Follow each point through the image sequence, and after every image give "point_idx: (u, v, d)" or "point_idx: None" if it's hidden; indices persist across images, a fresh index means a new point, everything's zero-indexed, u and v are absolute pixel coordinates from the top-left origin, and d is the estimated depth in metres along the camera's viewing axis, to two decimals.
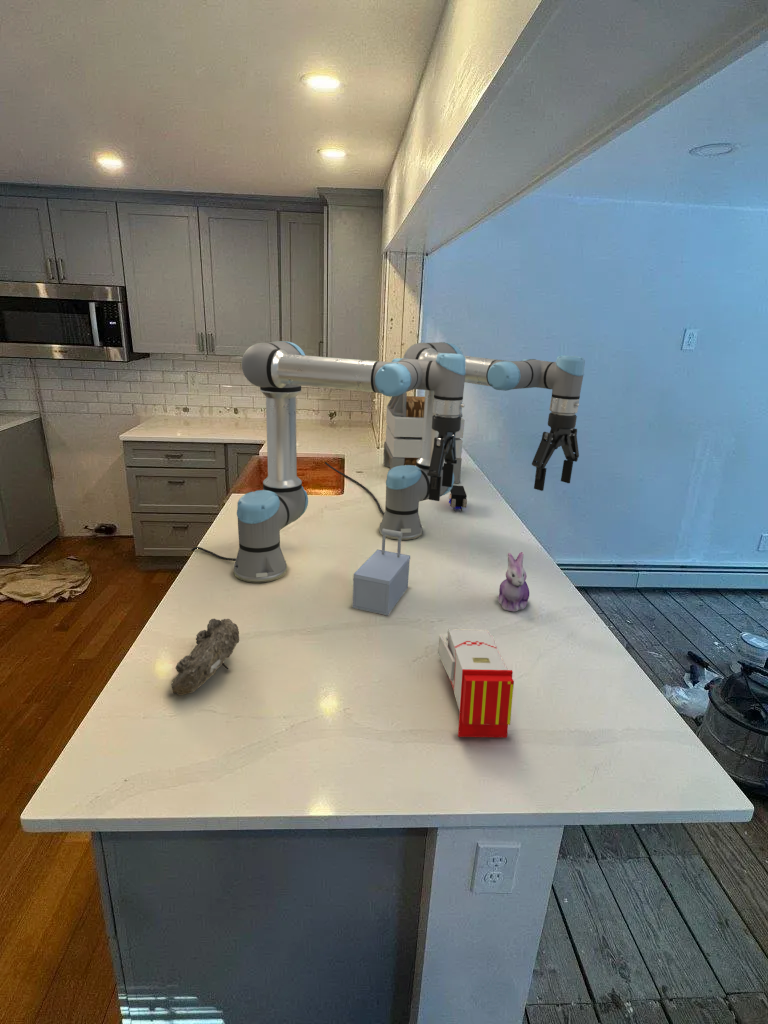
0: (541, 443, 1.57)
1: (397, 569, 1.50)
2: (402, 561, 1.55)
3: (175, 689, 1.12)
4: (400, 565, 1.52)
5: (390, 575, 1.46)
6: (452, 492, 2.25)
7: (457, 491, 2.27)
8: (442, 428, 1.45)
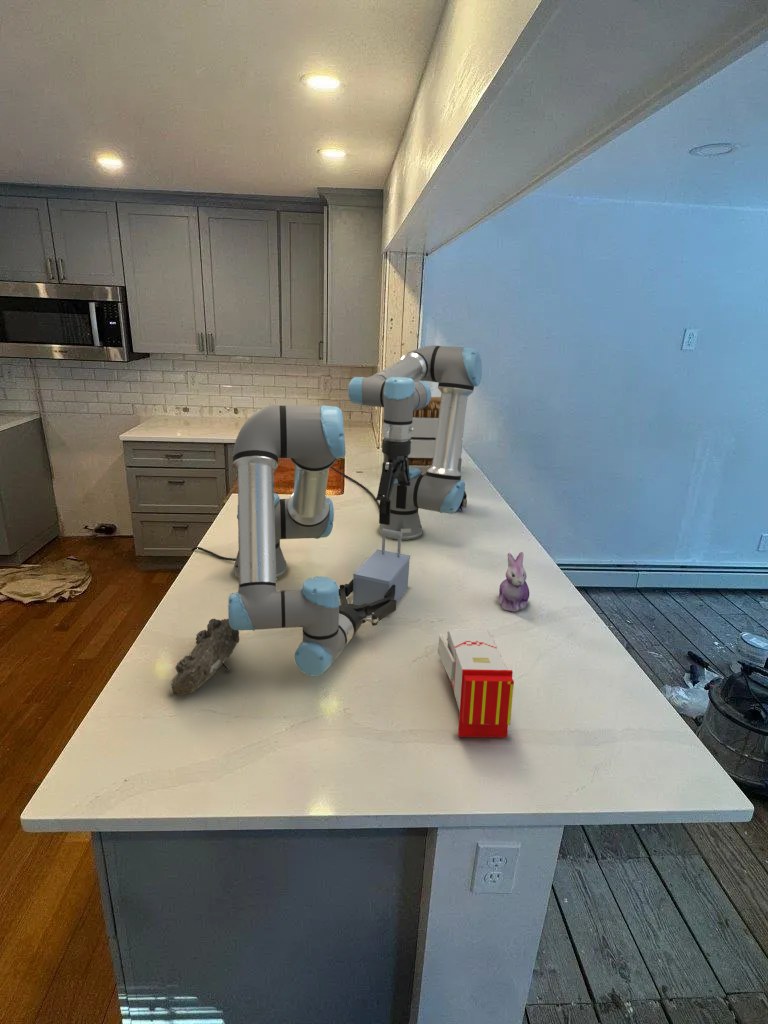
0: (383, 474, 1.43)
1: (397, 569, 1.50)
2: (402, 561, 1.55)
3: (175, 689, 1.12)
4: (400, 565, 1.52)
5: (390, 575, 1.46)
6: None
7: None
8: None
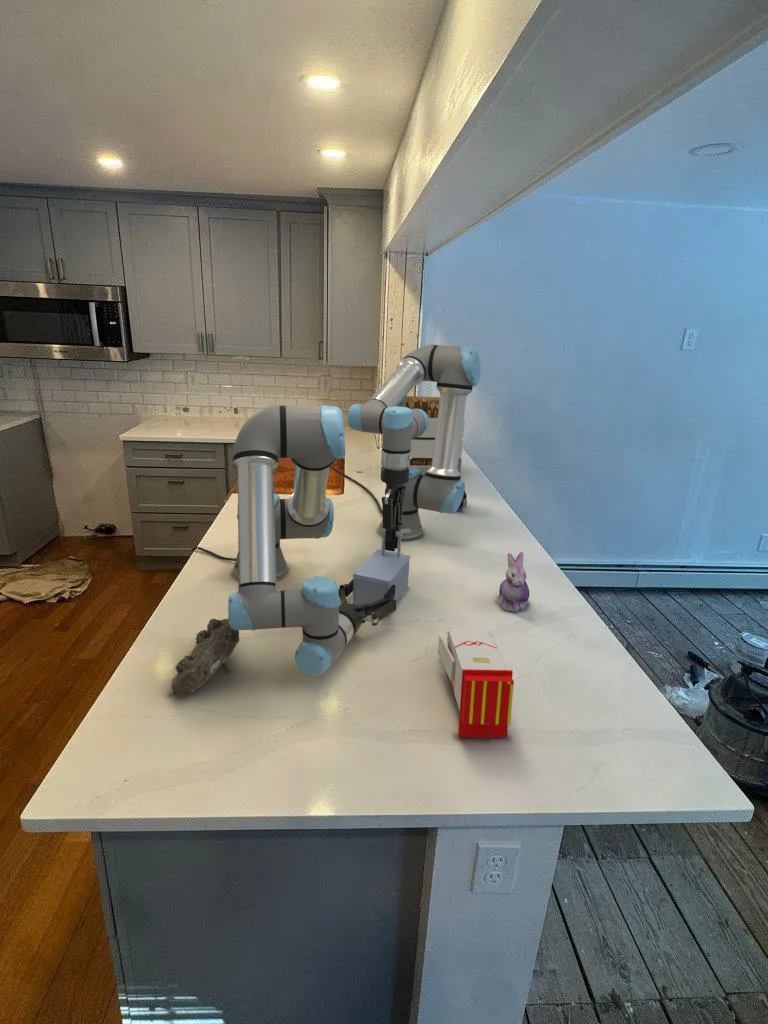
0: (384, 508, 1.48)
1: (397, 569, 1.50)
2: (402, 561, 1.55)
3: (175, 689, 1.12)
4: (400, 565, 1.52)
5: (390, 575, 1.46)
6: None
7: None
8: None
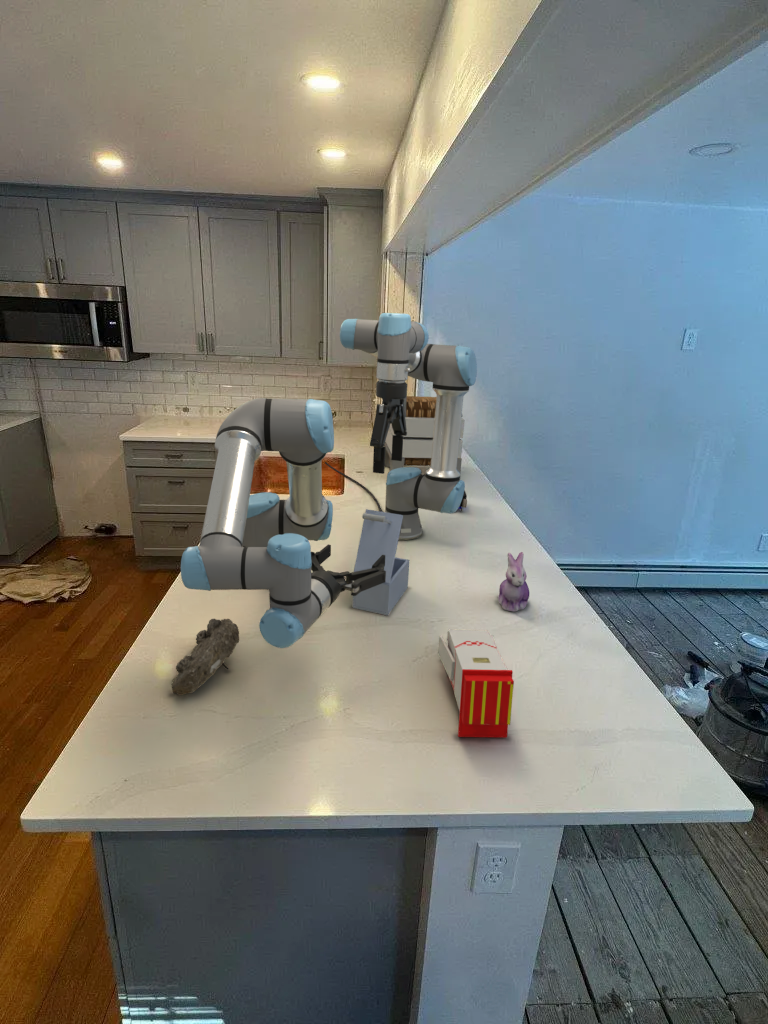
0: (376, 418, 1.33)
1: (393, 553, 1.44)
2: (395, 533, 1.44)
3: (175, 689, 1.12)
4: (394, 543, 1.44)
5: (387, 569, 1.43)
6: None
7: None
8: None
